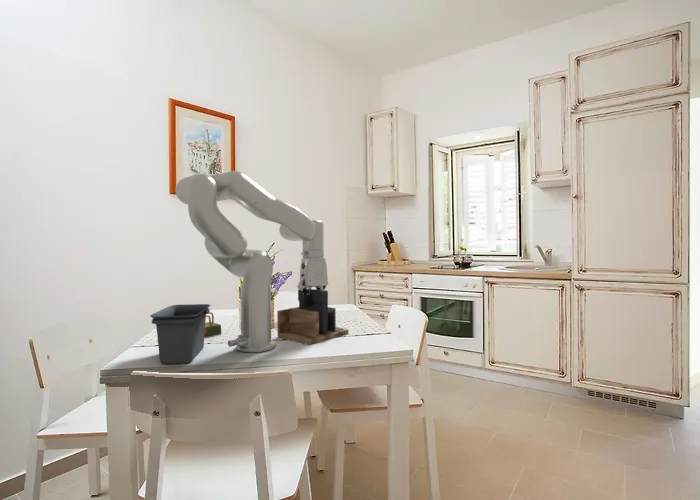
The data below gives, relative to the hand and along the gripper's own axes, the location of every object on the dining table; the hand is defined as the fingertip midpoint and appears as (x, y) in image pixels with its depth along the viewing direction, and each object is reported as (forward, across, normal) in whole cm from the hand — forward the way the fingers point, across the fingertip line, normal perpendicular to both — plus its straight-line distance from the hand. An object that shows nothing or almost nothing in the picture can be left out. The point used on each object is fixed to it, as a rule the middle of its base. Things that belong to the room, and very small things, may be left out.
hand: (313, 304), depth 150 cm
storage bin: (+12, -42, +12) cm, 45 cm away
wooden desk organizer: (+11, 0, 0) cm, 11 cm away
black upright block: (+10, 0, 0) cm, 10 cm away
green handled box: (+12, -28, +32) cm, 44 cm away
